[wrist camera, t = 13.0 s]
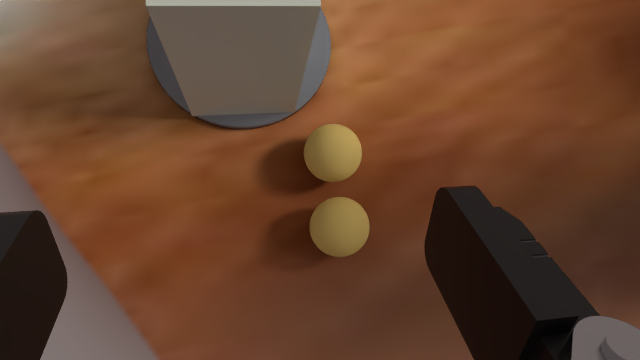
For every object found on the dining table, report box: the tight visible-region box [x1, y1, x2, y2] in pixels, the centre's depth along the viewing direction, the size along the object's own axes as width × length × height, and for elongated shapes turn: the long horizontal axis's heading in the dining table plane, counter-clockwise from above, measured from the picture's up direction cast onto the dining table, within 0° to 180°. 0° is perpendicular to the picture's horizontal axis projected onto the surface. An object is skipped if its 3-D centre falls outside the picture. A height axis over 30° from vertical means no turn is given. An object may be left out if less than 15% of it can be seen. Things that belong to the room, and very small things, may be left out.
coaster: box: [147, 8, 331, 129], centre depth 25 cm, size 10×10×1 cm
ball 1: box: [304, 124, 362, 182], centre depth 23 cm, size 3×3×3 cm
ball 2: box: [310, 197, 370, 257], centre depth 22 cm, size 3×3×3 cm
